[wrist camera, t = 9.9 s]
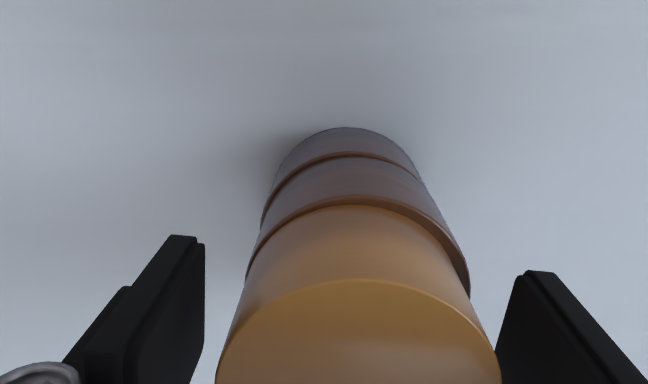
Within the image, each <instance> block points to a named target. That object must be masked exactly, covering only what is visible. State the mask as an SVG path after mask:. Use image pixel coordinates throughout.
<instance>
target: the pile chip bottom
mask: <svg viewBox="0 0 648 384" xmlns="http://www.w3.org/2000/svg"><path fill="white" fill-rule="evenodd" d="M347 156H360V157H369V158H375V159H379V160H382V161H386V162H389V163H391V164H393V165H395V166H398V167H400V168H401V169H403V170H405V171H406V172H408V173H409V174H411V175H412V176H413V177H414V178H416V179H417V180H418V181H419V182H420V183H421V184H422V185H423V186H424V187H425V185H424V183H423V181H422V179H421V177H420V176H419V174H418V172H417V170H416V168H415V166H414V165H413V163H412V161H411V160H410V158H409V157H408V156H407V154H406V153H405V152H404V151H403V150H402V149H401V148H400V147H399V146H398V145H396V144H395V143H394V142H392V141H391V140H389V139H388V138H386V137H384V136H382V135H380V134H378V133H375V132H372V131H369V130H365V129H359V128H335V129H331V130H326V131H323V132H320V133H318V134H315V135H313V136H311V137H309V138H307V139H306V140H304V141H303V142H301V143H300V144H299V145H297V146H296V147H295V148H294V149H293V150H292V151H291V152H290V153H289V154H288V156H287V157H286V158H285V159H284V161H283V163H282V164H281V166H280V168H279V170H278V172H277V175H276V177H275V180H274V182H273V185H272V188H271V190H270V193H269V196H268V198H267V201H266V204H265V207H264V210H263V213H262V217H261V224H260V230H261V227H262V224H263V221H264V219H265V216H266V213H267V211H268V208H269V206H270V204H271V202H272V200H273V199H274V197H275V196H276V194H277V193H278V191H279V190H280V189H281V188H282V187H283V186H284V184H285V183H287V182H288V181H289V180H290V179H291V178H292V177H293V176H295V175H296V174H298V173H299V172H301V171H302V170H304V169H306V168H308V167H310V166H312V165H314V164H316V163H319V162H322V161H324V160H328V159H333V158H337V157H347ZM425 189H426V187H425ZM426 190H427V189H426ZM427 191H428V190H427Z"/></svg>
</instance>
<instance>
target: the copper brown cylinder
mask: <svg viewBox="0 0 648 384" xmlns="http://www.w3.org/2000/svg"><path fill="white" fill-rule="evenodd" d="M215 384H502V377H501V370H500V367H499V363H498V360H497V356H496V354H495V352H494V350H493V348H492V346H491V344H490V342H489V340H488V338H487V336H486V333H485V331H484V329H483V327H482V325H481V323H480V321H479V319H478V317H477V315H476V313H475V311H474V308H473V306H472V304H471V302H470V300H469V298H468V296H467V294H466V292H465V290H464V288H463V286H462V283H461V281H460V279H459V277H458V275H457V273H456V271H455V269H454V267H453V265H452V263H451V261H450V259H449V257H448V254H447V253H446V251H445V250H444V249H443V247H442V246H441V244H440V243H439V242H438V241H437V240H436V239H435V238H434V237H433V235H432V234H431V233H429V232H428V231H427V230H426V229H424V228H423V227H422V226H421V225H419V224H418V223H416V222H414V221H413V220H411V219H409V218H408V217H405V216H403V215H401V214H399V213H396V212H394V211H390V210H387V209H384V208H380V207H374V206H368V205H352V204H349V205H337V206H331V207H326V208H321V209H318V210H315V211H312V212H309V213H306V214H304V215H302V216H300V217H298V218H296V219H294V220H292V221H290V222H289V223H287V224H286V225H284V226H283V227H281V228H280V229H279V230H278V231H277V232H276V233H274V234H273V235H272V236H271V237H270V238H269V239H268V240H267V242H266V243H265V244H264V245H263V246H262V248H261V249H260V251H259V252H258V254H257V255H256V257H255V259H254V261H253V263H252V266H251V268H250V271H249V273H248V276H247V279H246V282H245V285H244V288H243V291H242V294H241V297H240V300H239V303H238V306H237V309H236V312H235V315H234V318H233V321H232V324H231V327H230V330H229V333H228V336H227V339H226V341H225V344H224V347H223V350H222V353H221V356H220V359H219V363H218V366H217V370H216V374H215Z"/></svg>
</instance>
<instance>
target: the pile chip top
mask: <svg viewBox="0 0 648 384" xmlns="http://www.w3.org/2000/svg"><path fill="white" fill-rule="evenodd" d="M349 204H352V205H368V206H374V207H380V208H384V209H387V210H390V211H394V212H396V213H399V214H401V215H403V216H405V217H408V218H409V219H411V220H413V221H414V222H416V223H418V224H419V225H421V226H422V227H423V228H424V229H426V230H427V231H428V232H429V233H431V234H432V235H433V237H434V238H435V239H436V240H437V241H438V242H439V243H440V244H441V246H442V247H443V249H444V250H445V251H446V253H447V254H448V257H449V259H450V261H451V263H452V265H453V267H454V269H455V271H456V273H457V275H458V277H459V279H460V281H461V283H462V286H463V288H464V290H465V292H466V294H467V296H468V298H469V300H470V290H471V284H470V277H469V271H468V267H467V264H466V261H465V258H464V256H463V254H462V252H461V250H460V248H459V246H458V244H457V242H456V240H455V238H454V237H453V235H452V233H451V231H450V229H449V227H448V226H447V224H446V222H445V220H444V218H443V216H442V215H441V213H440V211H439V209H438V207H437V205H436V204H435V202H434V200H433V198H432V197H431V195H430V194H429V192H428V191H427V190H426V189H425V187H424V186H423V185H422V184H421V183H420V182H419V181H418V180H417V179H416V178H414V177H413V176H412V175H411V174H409V173H408V172H406V171H405V170H403V169H401V168H400V167H398V166H395V165H393V164H391V163H389V162H386V161H382V160H379V159H375V158H369V157H360V156H347V157H337V158H333V159H328V160H324V161H322V162H319V163H316V164H314V165H312V166H310V167H308V168H306V169H304V170H302V171H301V172H299V173H298V174H296V175H295V176H293V177H292V178H291V179H290V180H289V181H288V182H287V183H285V184H284V186H283V187H282V188H281V189H280V190H279V191H278V193H277V194H276V196H275V197H274V199H273V200H272V202H271V204H270V206H269V208H268V211H267V213H266V216H265V219H264V221H263V224H262V227H261V230H260V233H259V236H258V238H257V241H256V244H255V247H254V250H253V253H252V256H251V258H250V261H249V264H248V268H247V272H246V275H245V282H246V279H247V276H248V273H249V271H250V268H251V266H252V263H253V261H254V259H255V257H256V255H257V254H258V252H259V251H260V249H261V248H262V246H263V245H264V244H265V243H266V242H267V240H268V239H269V238H270V237H271V236H272V235H273V234H274V233H276V232H277V231H278V230H279V229H280V228H281V227H283V226H284V225H286V224H287V223H289V222H290V221H292V220H294V219H296V218H298V217H300V216H302V215H304V214H306V213H309V212H312V211H315V210H318V209H321V208H326V207H331V206H337V205H349ZM244 285H245V283H244Z"/></svg>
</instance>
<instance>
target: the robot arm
mask: <svg viewBox="0 0 648 384" xmlns="http://www.w3.org/2000/svg"><path fill="white" fill-rule="evenodd" d="M204 321H205V245H204V244H202V243H197V238H196V237H193V236H183V235H173V234H171V235H170V236H169V237H168V238H167V240H166V241H165V242H164V244H163V245H162V246H161V248H160V249H159V250H158V252H157V253H156V254H155V256H154V257H153V258H152V259H151V261H150V262H149V263H148V265H147V266H146V267H145V269H144V270H143V271H142V273H141V274H140V275H139V277H138V278H137V279H136V280H135V282H134V283H133V284H132V286H123V287H122V288H121V289H119V290H118V292H117V293H116V294H115V295H114V297H113V298H112V299H111V300H110V302H109V303H108V304H107V305H106V307H105V308H104V309H103V310H102V312H101V313H100V314H99V315H98V317H97V318H96V319H95V320H94V322H93V323H92V324H91V325H90V327H89V328H88V329H87V330H86V332H85V333H84V334H83V336H82V337H81V338H80V339H79V341H78V342H77V343H76V344H75V346H74V347H73V348H72V349H71V351H70V352H69V353H68V354H67V356H66V357H65V358H64V359H63V361H62V362H40V363H32V364H29V365H26V366H22V367H19V368H16V369H14V370H12V371H10V372H8V373H6V374H4V375H2V376H0V384H189V383H190V381H191V378H192V376H193V373H194V371H195V368H196V366H197V363H198V361H199V358H200V356H201V353H202V349H203V345H204ZM494 352H495V354H496V356H497V360H498V363H499V367H500V370H501V377H502V384H648V381H647V379H646V378H645V377H644V376H643V375H642V374H641V373H640V371H639V370H638V369H637V368H636V367H635V366H634V364H633V363H632V362H631V361H630V360H629V359H628V358H627V356H626V355H625V354H624V353H623V352H622V351H621V349H620V348H619V347H618V346H617V345H616V344H615V342H614V341H613V340H612V339H611V338H610V337H609V336H608V334H607V333H606V332H605V331H604V330H603V329H602V327H601V326H600V325H599V324H598V323H597V322H596V320H595V319H594V318H593V317H592V316H591V315H590V314H589V312H588V311H587V310H586V309H585V308H584V307H583V305H582V304H581V303H580V302H579V301H578V300H577V299H576V297H575V296H574V295H573V294H572V293H571V292H570V290H569V289H568V288H567V287H566V286H565V285H564V283H563V282H562V281H561V280H560V279H559V278H558V277H557V275H556V274H554V273H552V272H543V271H533V270H527V271H525V273H524V274H523V275H519V276H517V278H516V280H515V282H514V286H513V289H512V293H511V296H510V299H509V303H508V306H507V310H506V313H505V317H504V320H503V324H502V327H501V330H500V334H499V337H498V341H497V344H496V348H495V351H494Z"/></svg>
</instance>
